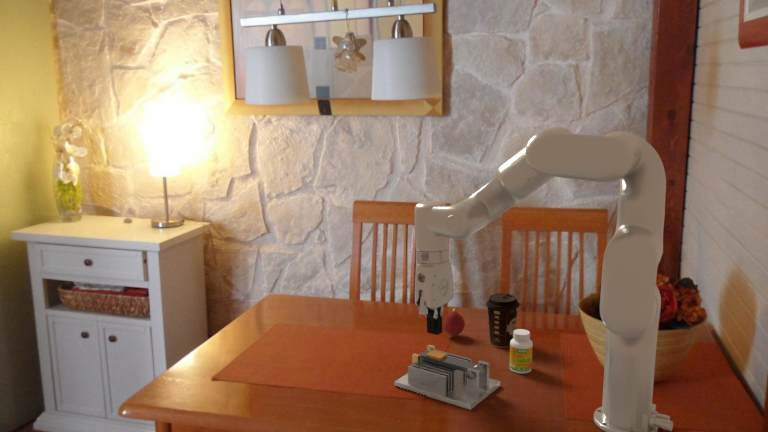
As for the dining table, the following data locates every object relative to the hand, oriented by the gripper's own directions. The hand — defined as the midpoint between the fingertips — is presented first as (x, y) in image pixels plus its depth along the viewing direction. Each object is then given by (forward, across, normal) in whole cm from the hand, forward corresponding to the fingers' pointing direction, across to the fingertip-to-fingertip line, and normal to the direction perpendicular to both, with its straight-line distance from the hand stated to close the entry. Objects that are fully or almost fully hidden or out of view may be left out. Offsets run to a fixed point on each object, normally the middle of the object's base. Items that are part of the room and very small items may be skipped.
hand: (434, 332), depth 159 cm
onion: (+12, +27, +11) cm, 31 cm away
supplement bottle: (+13, +18, -13) cm, 26 cm away
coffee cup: (+13, +30, -2) cm, 33 cm away
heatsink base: (+12, 0, -3) cm, 13 cm away
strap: (+8, 0, -4) cm, 9 cm away
